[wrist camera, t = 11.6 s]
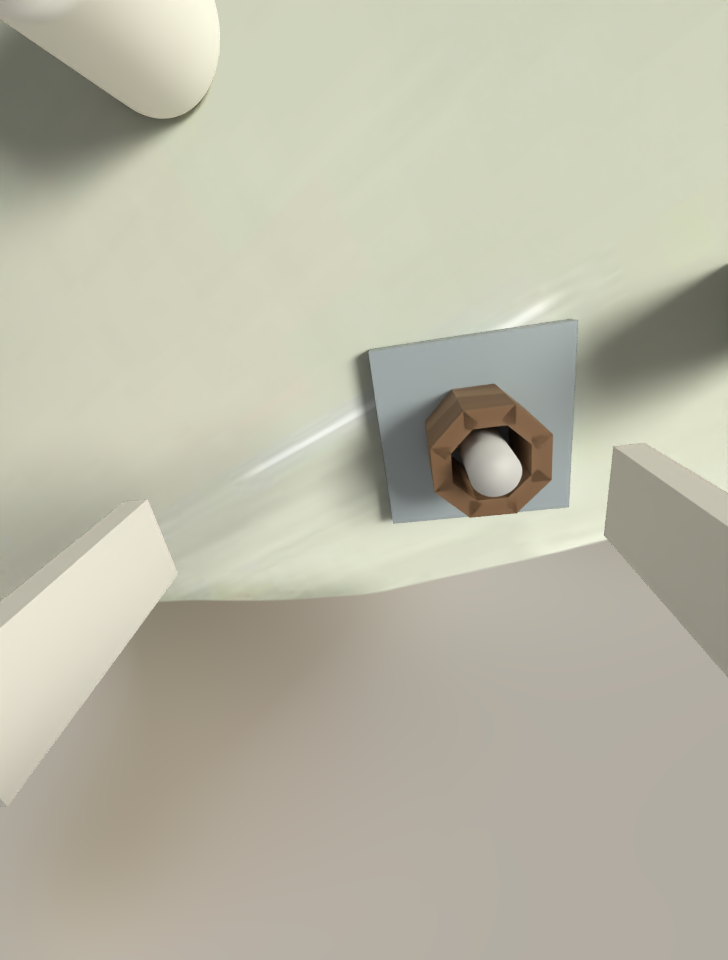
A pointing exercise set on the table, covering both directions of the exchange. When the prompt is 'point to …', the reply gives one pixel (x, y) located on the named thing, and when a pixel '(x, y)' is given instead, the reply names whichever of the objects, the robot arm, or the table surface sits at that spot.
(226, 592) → the table surface
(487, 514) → the collar
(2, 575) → the table surface
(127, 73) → the beverage can
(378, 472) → the table surface
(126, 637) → the robot arm
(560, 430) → the post block
